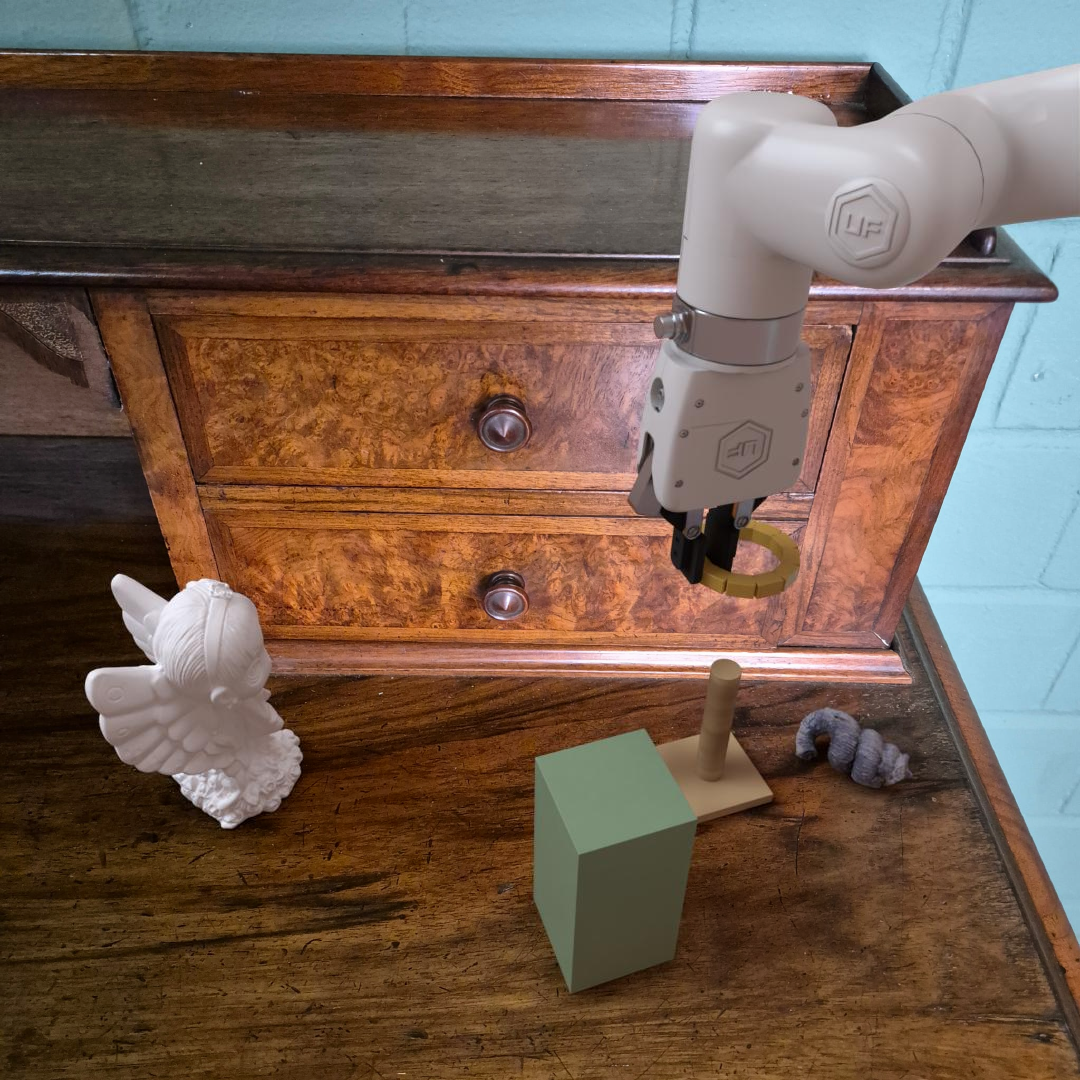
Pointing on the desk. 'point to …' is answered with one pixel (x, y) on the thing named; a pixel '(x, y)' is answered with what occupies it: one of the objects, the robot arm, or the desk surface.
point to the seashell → (853, 748)
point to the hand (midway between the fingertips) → (701, 568)
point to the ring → (762, 582)
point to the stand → (610, 857)
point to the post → (716, 755)
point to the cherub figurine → (198, 700)
